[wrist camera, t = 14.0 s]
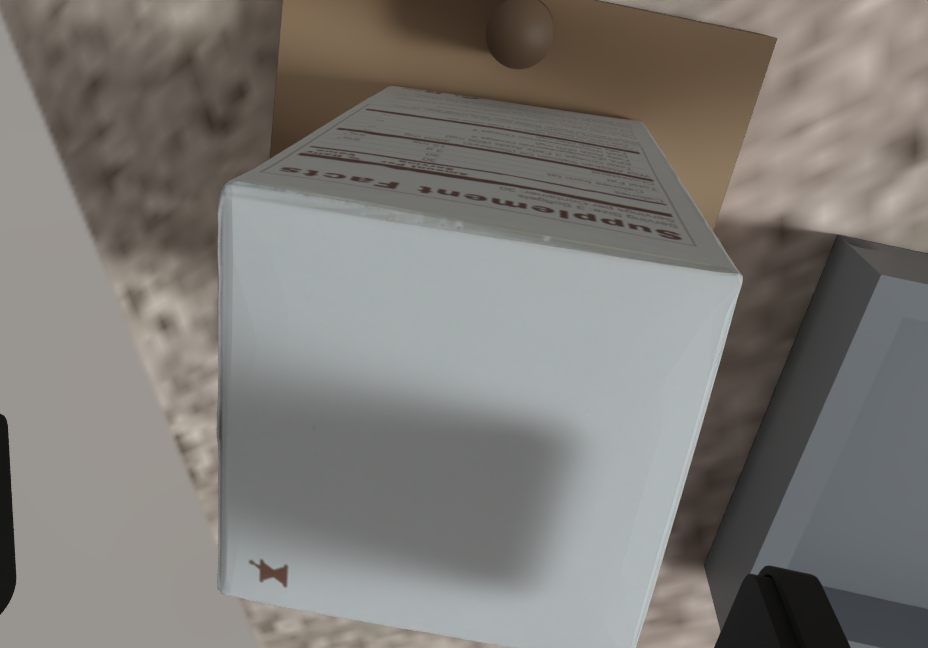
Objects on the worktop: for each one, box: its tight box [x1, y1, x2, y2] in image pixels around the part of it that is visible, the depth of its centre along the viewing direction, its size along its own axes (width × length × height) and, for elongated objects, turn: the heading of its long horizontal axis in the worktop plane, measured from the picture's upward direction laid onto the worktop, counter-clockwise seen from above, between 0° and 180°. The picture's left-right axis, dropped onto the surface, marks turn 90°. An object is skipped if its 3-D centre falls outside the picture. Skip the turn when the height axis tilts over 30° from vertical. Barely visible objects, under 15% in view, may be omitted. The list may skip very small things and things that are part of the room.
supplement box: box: [217, 86, 743, 648], centre depth 18 cm, size 7×7×13 cm
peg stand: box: [270, 0, 777, 230], centre depth 23 cm, size 13×13×4 cm
